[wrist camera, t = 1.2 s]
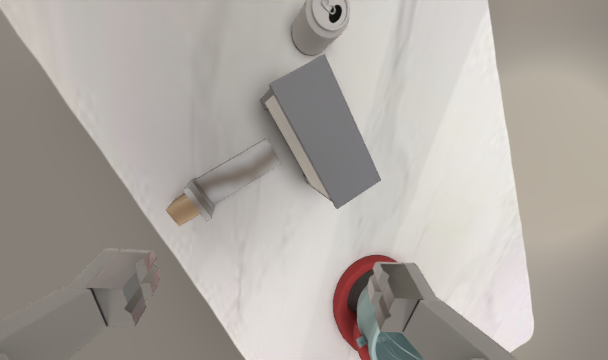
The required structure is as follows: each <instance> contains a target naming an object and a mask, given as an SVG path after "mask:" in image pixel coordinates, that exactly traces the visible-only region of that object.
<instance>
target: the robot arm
mask: <svg viewBox="0 0 608 360" xmlns="http://www.w3.org/2000/svg"><path fill="white" fill-rule="evenodd" d="M156 260H157V257H156V254H155V252H153V251H145V250H131V249H114V248H113V249H112V248H107V249H105V250H102V251H101V252H100V253H99V255H97V256H96V257H95V258H94V260H93V261H92V262H91V263H90V264H89V265H88V266H87V267H86V268H85V269H84V270H83V271H82V272H81V273H80V274H79V275H78V276H77V277H76V278H75V279H74V280H73V281H72V282H71V283H70V284H69V286H67V287H66V288H60V289H58V290H56V291H54V292H52V293H50V294H48V295H46V296H44V297H42V298H40V299H38V300H36V301H34V302H32V303H31V304H29V305H27V306H25V307H23V308H21V309H19V310H17V311H15V312H13V313H11V314H10V315H7V316H5V317H4V318H2V319H0V360H69V359H70V358H71V357H73V356H74V355H75V354H76V353H78V352H79V351H80V350H81V349H82V348H84V347H85V346H86V345H87V344H88V343H90V342H91V341H92V340H93V339H95V338H96V337H97V336H98V335H99V334H101V333H102V332H103V331H104V330H106V329H107V327H118V326H119V327H120V326H121V327H127V326H128V327H129V326H136V324H137V323H138V321H139V319H140V317H141V316H142V314H143V312H144V311H145V309H146V303H145V301H146V300H147V299H149V298H150V297H152V296H153V295H154V293H155V291H156V289H157V287H158V283H159V280H160V270H159V267H157V266H156V265H155V264H154V263H155V261H156ZM373 271H374V274H373V275H372V276H371V277H370V278H369V282H368V294H369V298H370V302H371V303H372V304H373V305H374V306H375V307H376V311H375V313H374V314H375V317H376V320H377V323H378V326H379V329H380V332H399V333H403V335H404V336H405V337H406V338H407V340H408V341H409V342H410V343H411V344H412V345H413V347H414V348H415V349H416V350H417V351H418V352H419V354H420V355H421V356H422V357H423V358H424V359H425V360H517V358H516V357H514V356H513V355H512V354H511V353H509V352H508V351H507V350H505V349H504V348H503V347H501V346H500V345H499V344H498V343H496V342H495V341H494V340H492V339H491V338H490V337H488V336H487V335H486V334H485V333H483V332H482V331H481V330H479V329H478V328H477V327H476V326H474V325H473V324H472V323H470V322H469V321H468V320H466V319H465V318H464V317H463V316H461V315H460V314H459V313H457V312H456V311H455V310H453V309H452V308H451V307H450V306H448V305H447V304H446V303H444V302H443V301H438V299H437V297H436V296H435V294H434V293H433V291H432V289H431V288H430V286H429V284H428V283H427V281H426V279H425V278H424V276H423V274H422V273H421V271H420V269H419V268H418V266H417V265H416V264H415V263H395V262H376V263H375V264H374V267H373Z"/></svg>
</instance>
